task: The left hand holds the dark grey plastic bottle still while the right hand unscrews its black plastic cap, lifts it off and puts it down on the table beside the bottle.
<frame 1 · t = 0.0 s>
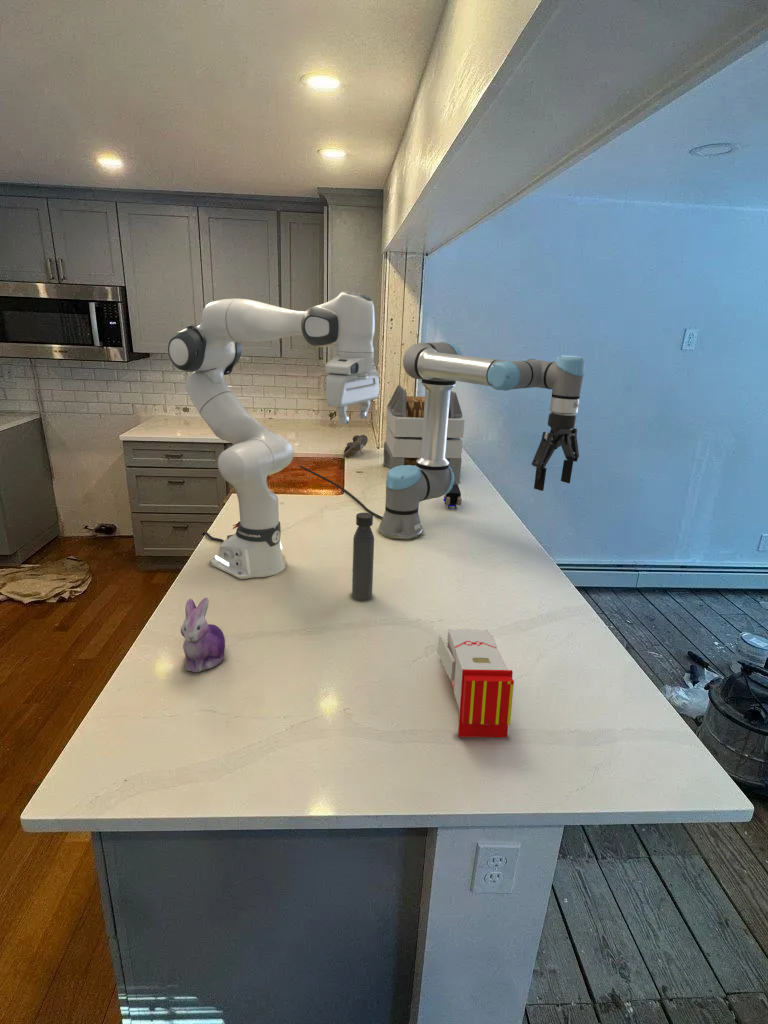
left hand: (353, 421, 141), 48 cm above the counter, tool pointing down, fingers open, 8 cm apart
right hand: (552, 485, 166), 28 cm above the counter, tool pointing down, fingers open, 13 cm apart
toy: (469, 691, 119), on the counter
figurine character: (451, 505, 231), on the counter
grey lumpy piece: (355, 454, 305), on the counter
bottle: (361, 596, 156), on the counter
figurine: (205, 661, 125), on the counter
cap: (364, 516, 148), point 23 cm above the counter, screwed on, not yet turned
white wooden crate: (419, 473, 275), on the counter
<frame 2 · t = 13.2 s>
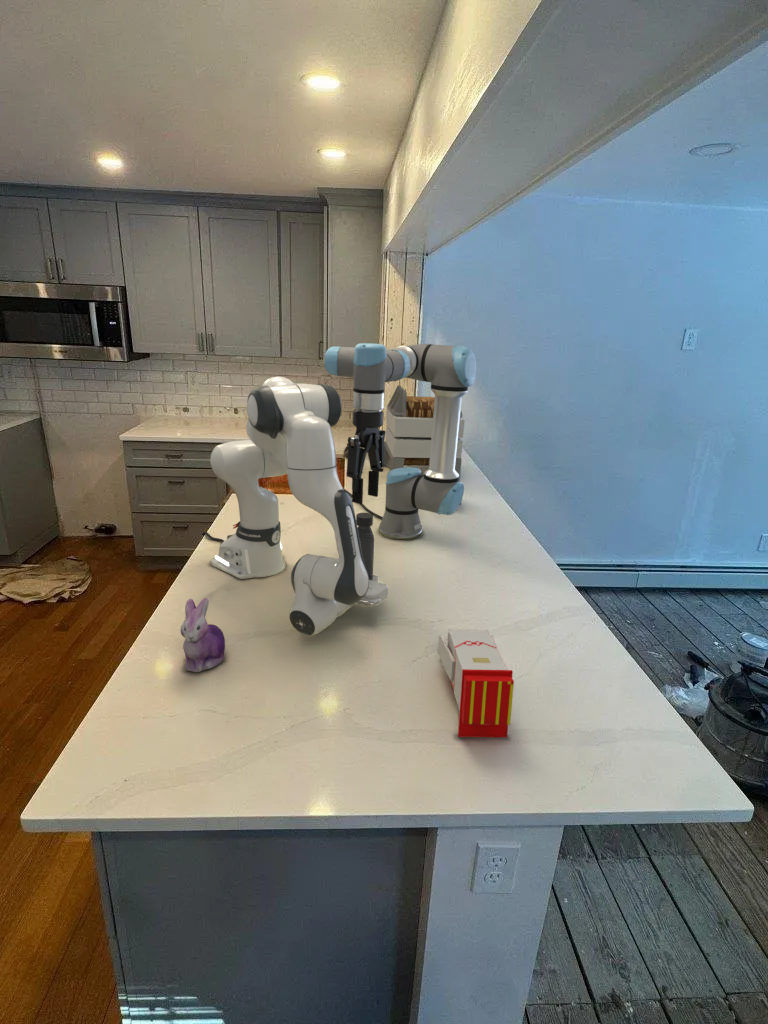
left hand: (364, 574, 154), 6 cm above the counter, tool horizontal, fingers closed on bottle, 5 cm apart
right hand: (365, 498, 146), 28 cm above the counter, tool pointing down, fingers open, 7 cm apart
bottle: (361, 596, 156), on the counter, touching left hand
everything else where it was.
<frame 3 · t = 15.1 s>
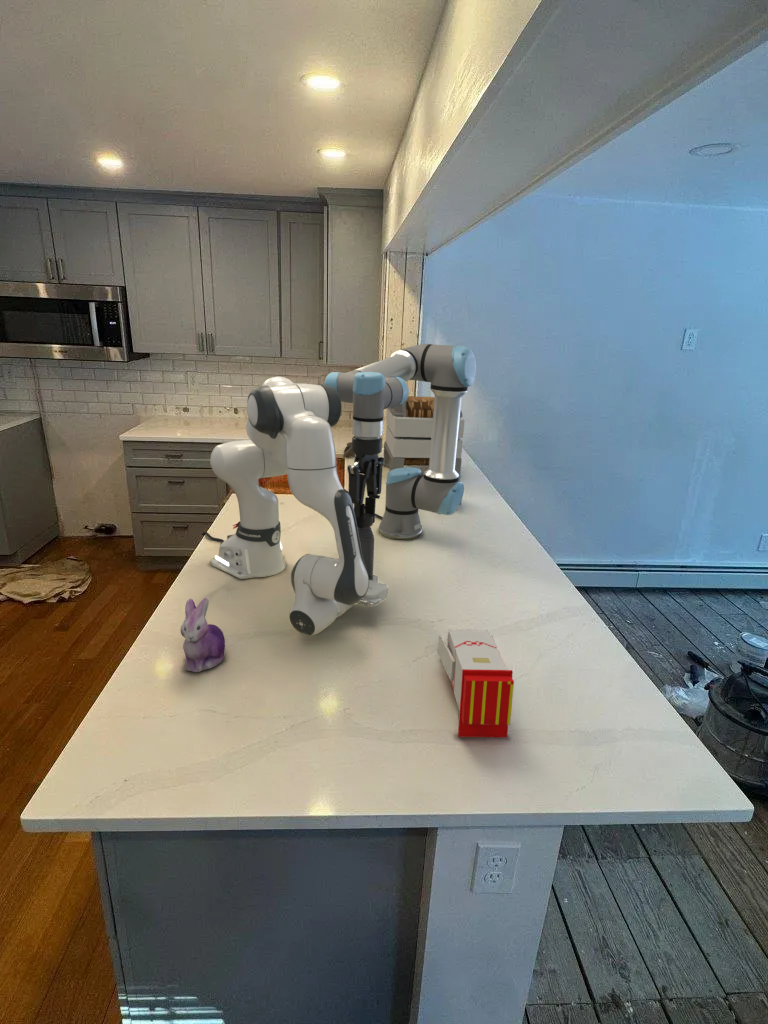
left hand: (364, 574, 154), 6 cm above the counter, tool horizontal, fingers closed on bottle, 5 cm apart
right hand: (364, 524, 148), 21 cm above the counter, tool pointing down, fingers closed on cap, 4 cm apart
bottle: (361, 596, 156), on the counter, touching left hand
cap: (364, 516, 148), point 23 cm above the counter, screwed on, not yet turned, touching right hand
everything else where it was.
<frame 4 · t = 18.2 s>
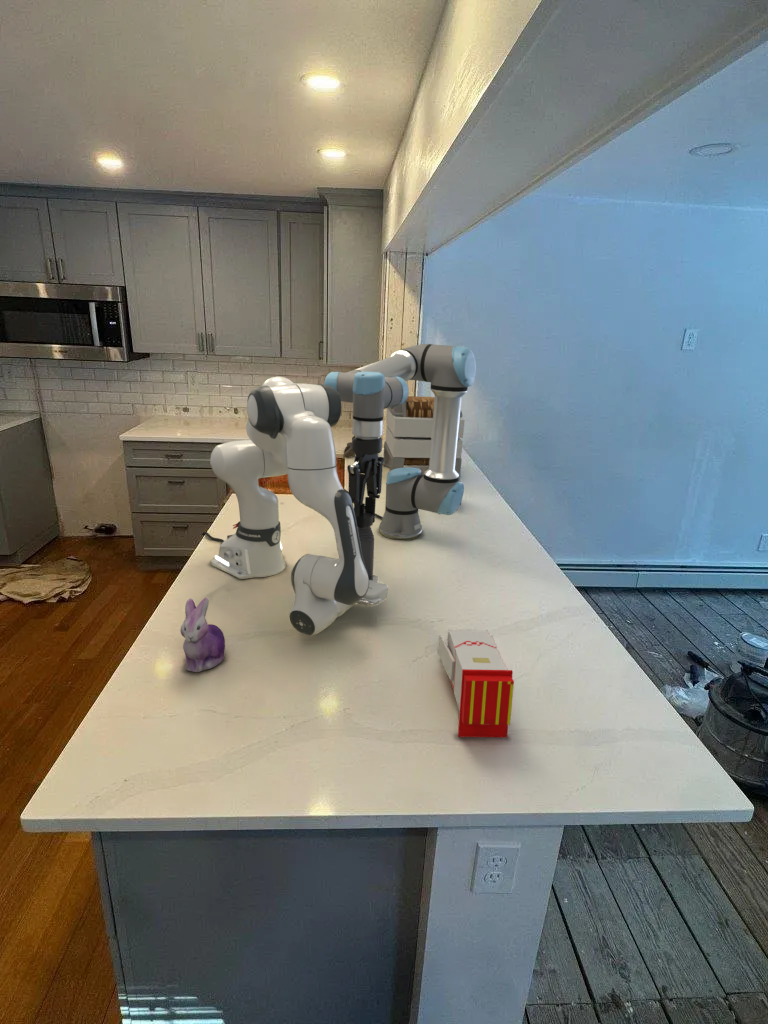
left hand: (364, 574, 154), 6 cm above the counter, tool horizontal, fingers closed on bottle, 5 cm apart
right hand: (364, 523, 148), 21 cm above the counter, tool pointing down, fingers closed on cap, 4 cm apart
bottle: (362, 596, 156), on the counter, touching left hand
cap: (364, 516, 148), point 24 cm above the counter, turned 88° so far, risen 0.1 cm, still on its thread, touching right hand
everything else where it was.
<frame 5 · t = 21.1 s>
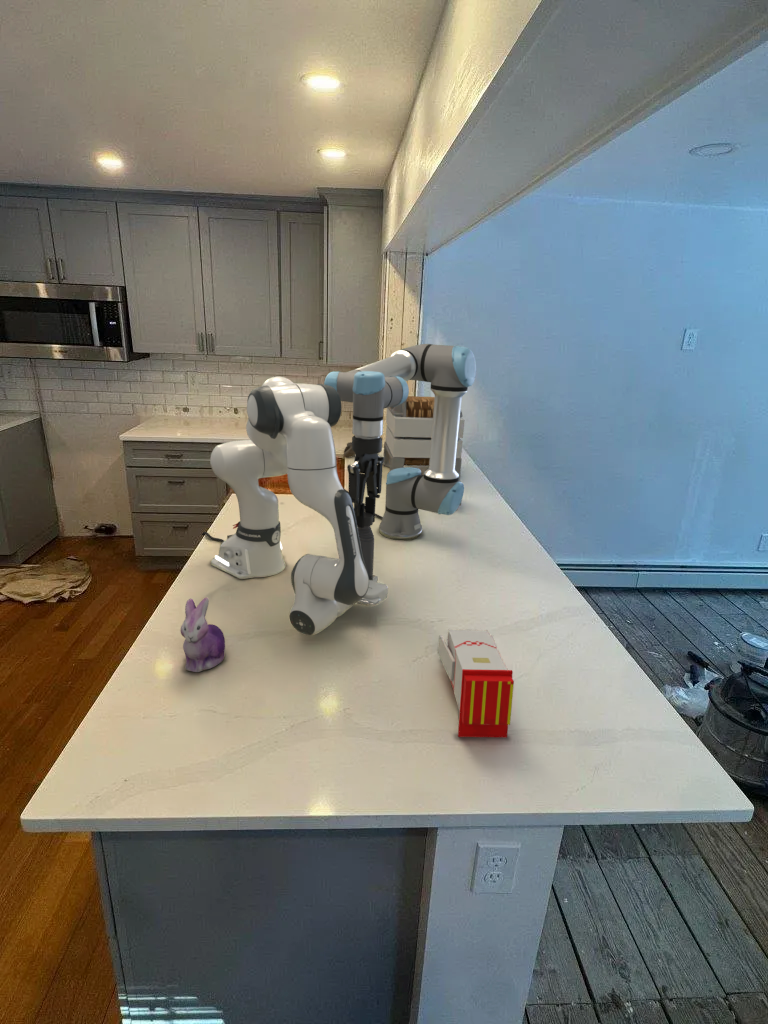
left hand: (364, 574, 154), 6 cm above the counter, tool horizontal, fingers closed on bottle, 5 cm apart
right hand: (364, 523, 148), 21 cm above the counter, tool pointing down, fingers closed on cap, 4 cm apart
bottle: (362, 596, 156), on the counter, touching left hand
cap: (364, 515, 148), point 24 cm above the counter, turned 177° so far, risen 0.2 cm, still on its thread, touching right hand
everything else where it was.
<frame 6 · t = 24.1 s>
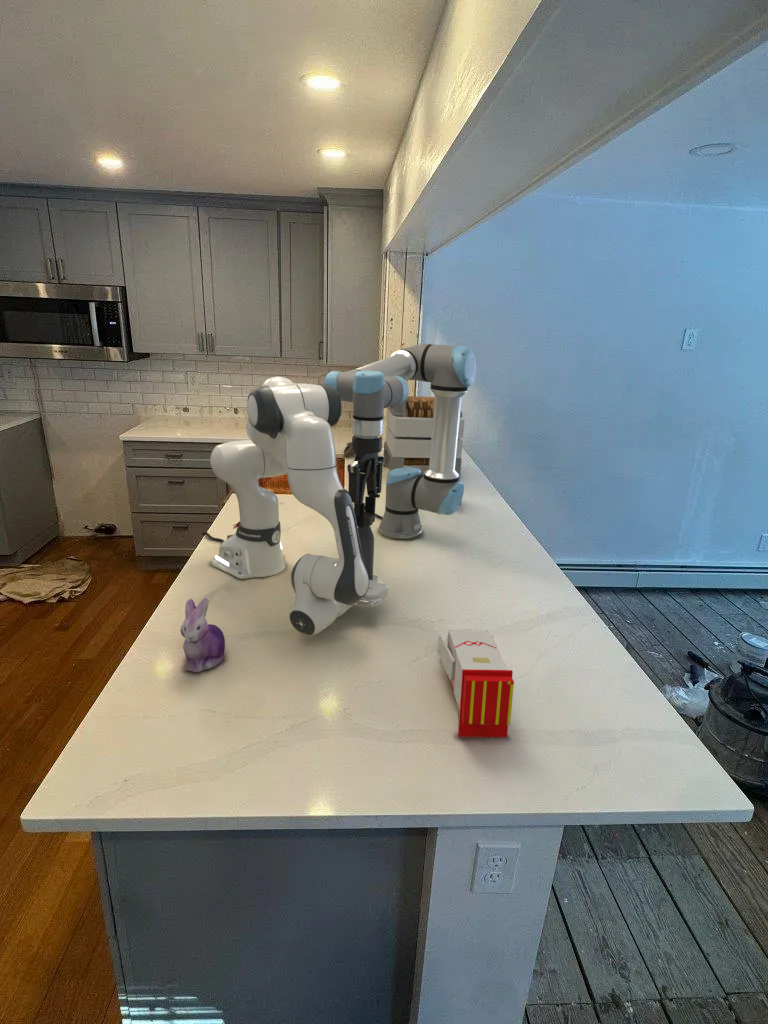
left hand: (364, 574, 154), 6 cm above the counter, tool horizontal, fingers closed on bottle, 5 cm apart
right hand: (364, 523, 148), 22 cm above the counter, tool pointing down, fingers closed on cap, 4 cm apart
bottle: (361, 596, 156), on the counter, touching left hand
cap: (364, 515, 148), point 24 cm above the counter, turned 265° so far, risen 0.2 cm, still on its thread, touching right hand
everything else where it was.
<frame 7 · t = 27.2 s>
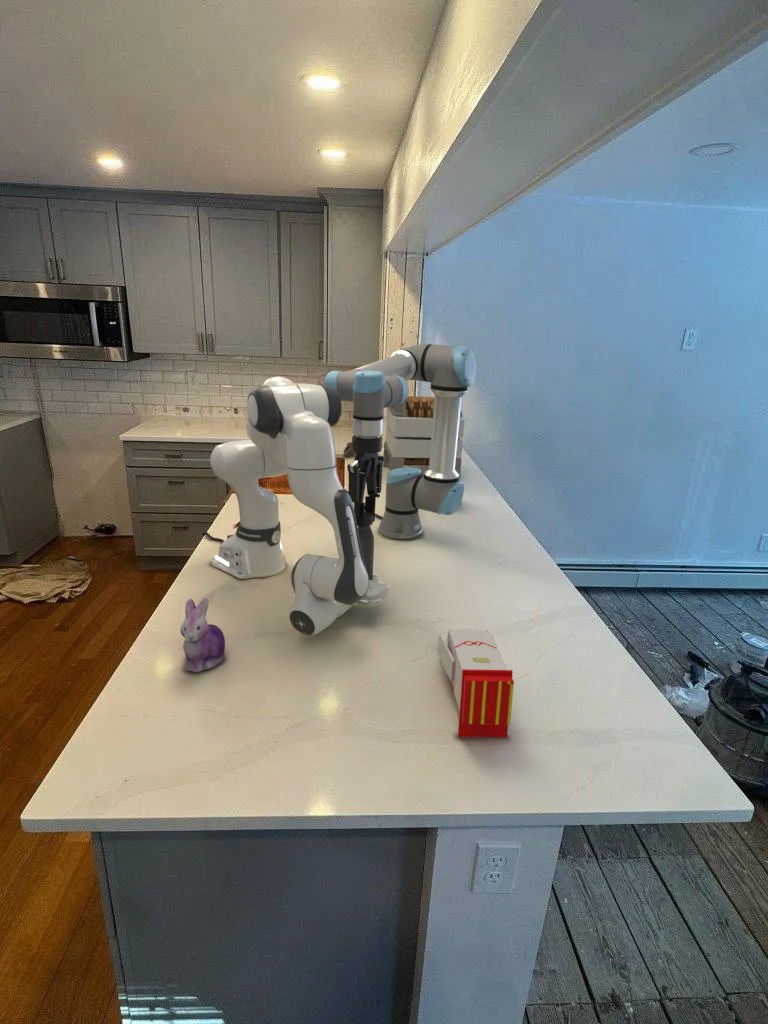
left hand: (364, 574, 154), 6 cm above the counter, tool horizontal, fingers closed on bottle, 5 cm apart
right hand: (364, 523, 148), 22 cm above the counter, tool pointing down, fingers closed on cap, 4 cm apart
bottle: (361, 596, 156), on the counter, touching left hand
cap: (364, 515, 148), point 24 cm above the counter, turned 354° so far, risen 0.3 cm, still on its thread, touching right hand
everything else where it was.
when the right hand's fingers open (1 cm above the counter, at t = 37.4 s): cap drops 1 cm, point 2 cm above the counter.
when the left hand's fingers open (6 cm above the counter, at t = 38.8 s): bottle stays where it is, on the counter.
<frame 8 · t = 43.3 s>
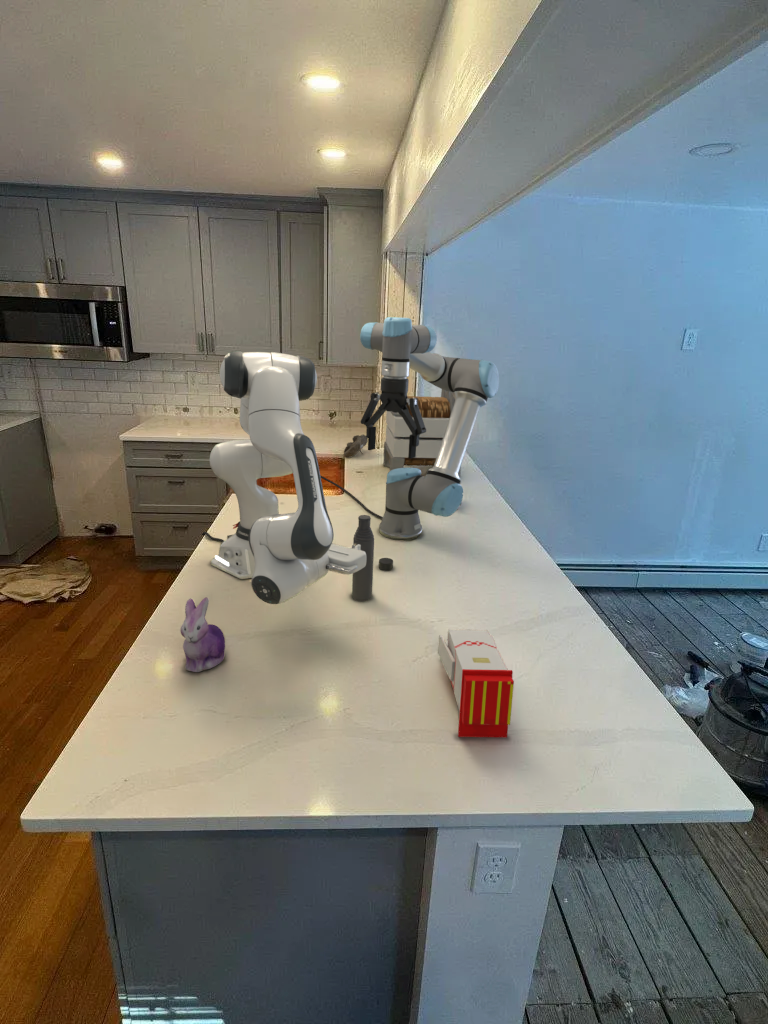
left hand: (341, 542, 139), 20 cm above the counter, tool horizontal, fingers open, 8 cm apart
right hand: (391, 453, 161), 36 cm above the counter, tool pointing down, fingers open, 13 cm apart
bottle: (361, 596, 156), on the counter
cap: (386, 561, 173), point 2 cm above the counter, off its thread
everything else where it was.
at the end: cap came off its thread; cap point 2.1 cm above the counter; the left hand is holding nothing; the right hand is holding nothing; bottle tilted 0°; bottle moved 0.0 cm from its start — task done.
